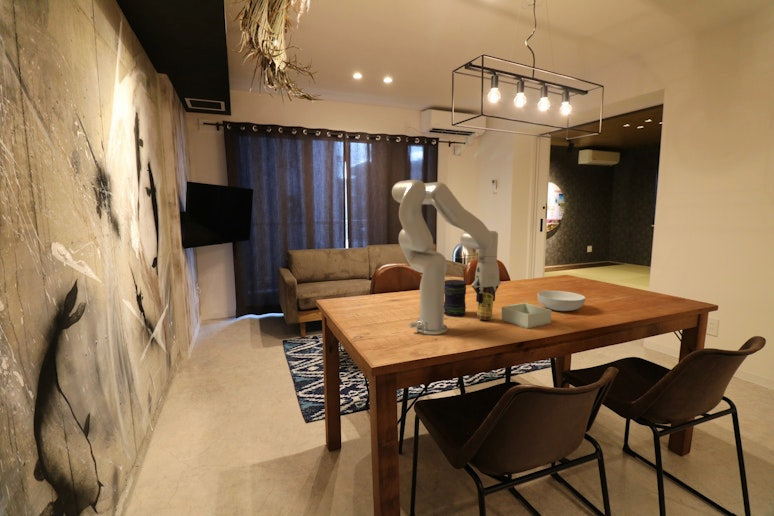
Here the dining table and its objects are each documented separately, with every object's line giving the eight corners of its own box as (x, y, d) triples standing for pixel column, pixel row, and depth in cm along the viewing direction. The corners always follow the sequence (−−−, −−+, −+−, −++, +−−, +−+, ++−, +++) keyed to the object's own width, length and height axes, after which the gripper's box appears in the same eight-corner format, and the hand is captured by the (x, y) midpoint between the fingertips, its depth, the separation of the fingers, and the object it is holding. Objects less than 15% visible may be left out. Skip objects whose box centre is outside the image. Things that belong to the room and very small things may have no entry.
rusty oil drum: (448, 309, 177) (449, 279, 175) (468, 312, 172) (469, 281, 170) (440, 315, 169) (440, 282, 167) (461, 318, 164) (461, 285, 162)
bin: (527, 328, 149) (528, 314, 149) (501, 319, 162) (501, 306, 161) (550, 323, 156) (551, 310, 155) (524, 315, 168) (524, 302, 167)
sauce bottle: (475, 319, 160) (477, 273, 157) (478, 315, 165) (480, 271, 163) (490, 321, 157) (493, 274, 154) (493, 317, 162) (496, 272, 160)
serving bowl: (593, 315, 168) (594, 300, 167) (546, 315, 168) (547, 300, 167) (571, 303, 188) (572, 290, 187) (529, 303, 189) (530, 290, 188)
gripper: (478, 262, 150) (476, 305, 153) (509, 260, 158) (506, 301, 161) (465, 259, 157) (464, 301, 159) (496, 257, 165) (494, 297, 167)
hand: (485, 301), depth 160 cm, fingers closed on sauce bottle, 6 cm apart
